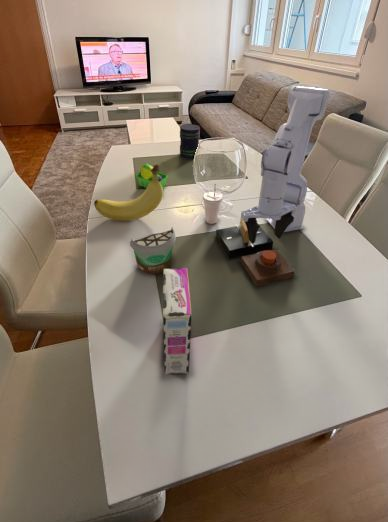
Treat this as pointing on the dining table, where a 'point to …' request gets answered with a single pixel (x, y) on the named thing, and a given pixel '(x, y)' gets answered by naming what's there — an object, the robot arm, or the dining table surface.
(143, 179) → the fruit basket
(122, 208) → the banana
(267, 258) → the button
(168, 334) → the candy bar box
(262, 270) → the block
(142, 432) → the dining table surface
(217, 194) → the smoothie
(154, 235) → the food container
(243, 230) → the tap lever
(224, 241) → the base
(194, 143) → the storage jar
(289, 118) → the robot arm
